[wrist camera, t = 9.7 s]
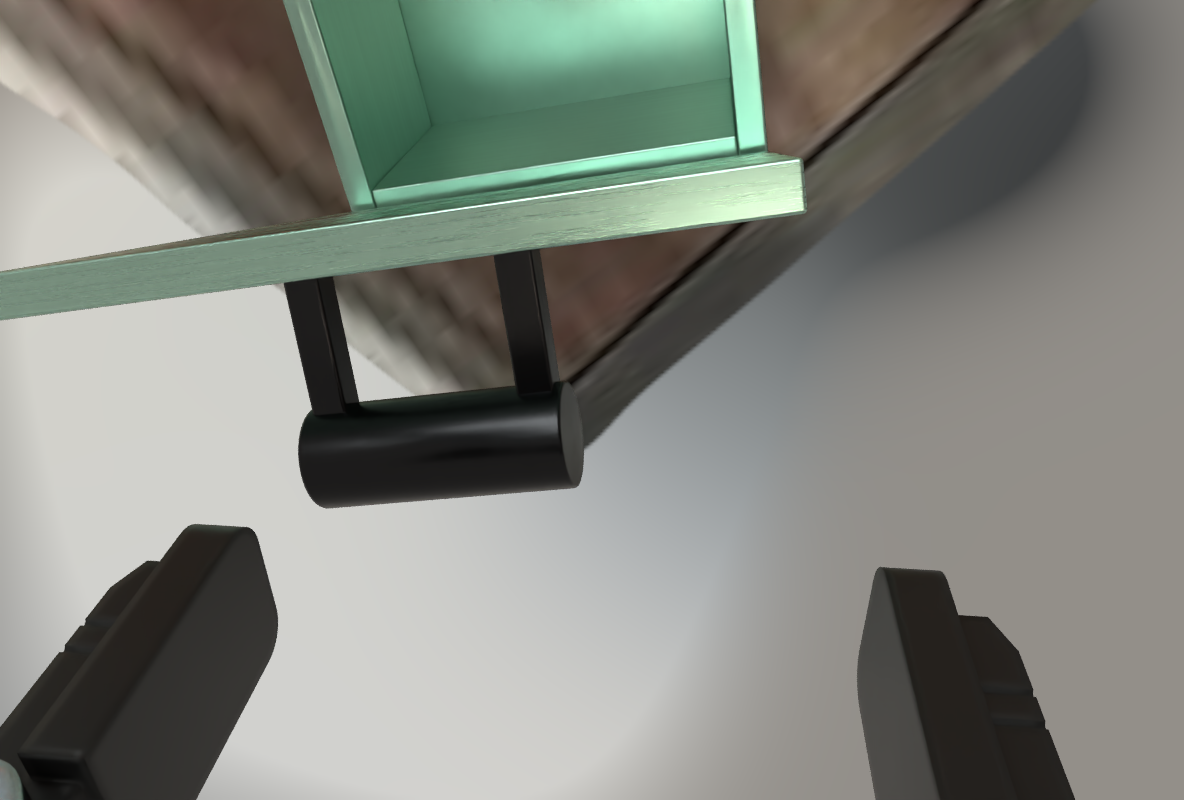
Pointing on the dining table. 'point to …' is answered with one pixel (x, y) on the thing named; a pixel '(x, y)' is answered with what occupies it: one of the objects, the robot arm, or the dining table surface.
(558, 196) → the freezer lid
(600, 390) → the dining table surface
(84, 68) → the dining table surface
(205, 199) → the dining table surface
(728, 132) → the box
